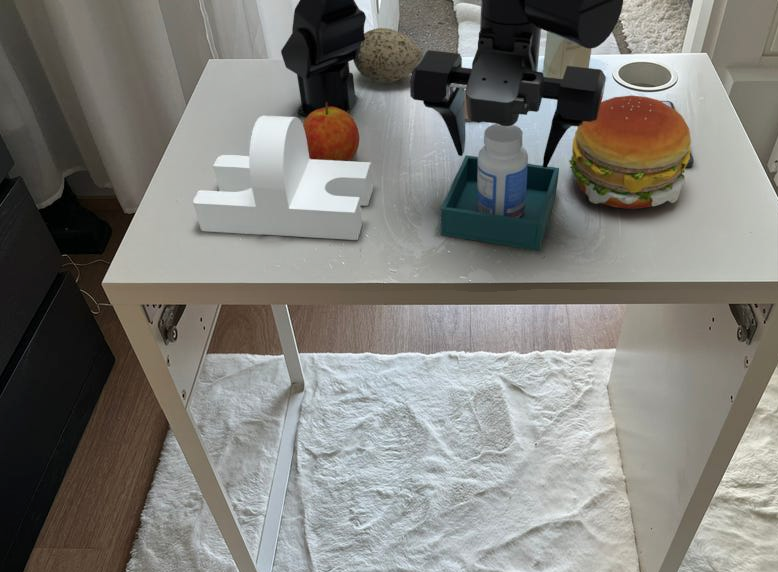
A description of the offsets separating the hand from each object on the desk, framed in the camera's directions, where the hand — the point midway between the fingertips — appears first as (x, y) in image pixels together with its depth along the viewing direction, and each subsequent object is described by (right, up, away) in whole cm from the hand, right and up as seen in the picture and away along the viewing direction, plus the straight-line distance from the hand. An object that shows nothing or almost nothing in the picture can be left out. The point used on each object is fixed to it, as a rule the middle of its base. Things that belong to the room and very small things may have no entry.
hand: (502, 159), depth 82 cm
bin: (0, -5, +5) cm, 7 cm away
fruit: (-20, +3, +13) cm, 24 cm away
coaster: (-2, +13, +22) cm, 26 cm away
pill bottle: (0, -5, +5) cm, 7 cm away
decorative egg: (-19, +22, +26) cm, 39 cm away
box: (+11, +18, +27) cm, 35 cm away
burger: (+15, -1, +8) cm, 17 cm away
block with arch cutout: (-24, -4, +6) cm, 25 cm away
